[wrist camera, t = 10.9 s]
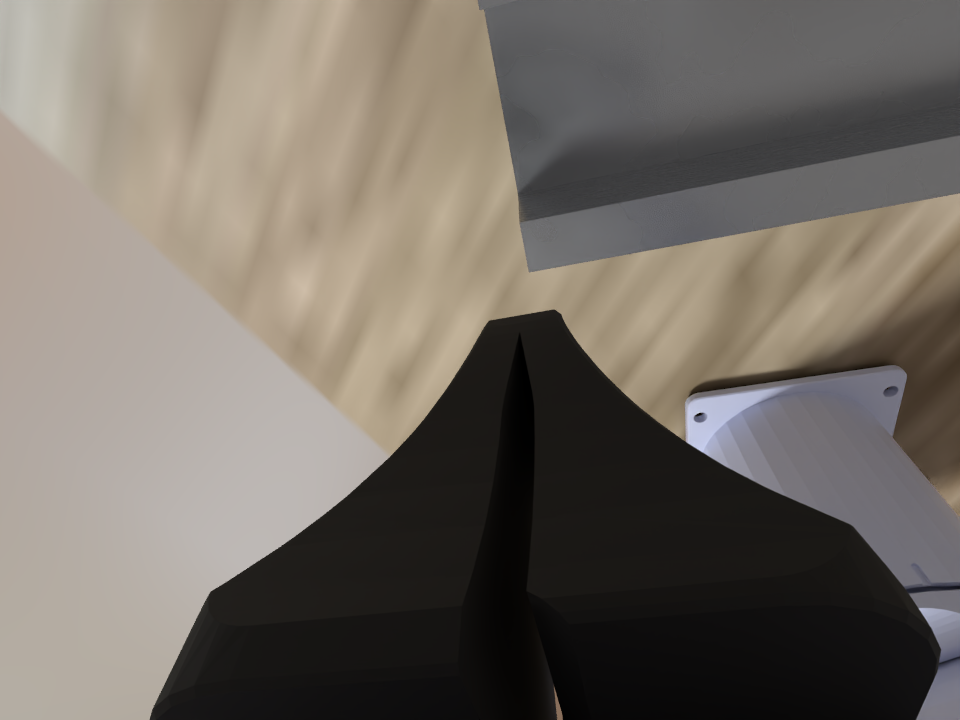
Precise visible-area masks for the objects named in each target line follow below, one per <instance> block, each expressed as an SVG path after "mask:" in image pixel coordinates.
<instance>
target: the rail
mask: <svg viewBox="0 0 960 720" xmlns="http://www.w3.org/2000/svg"><path fill="white" fill-rule="evenodd" d="M478 4H479V10H482V9H484V12H485V17H486V22H487V28H488V33H489V39H490V44H491V49H492V55H493V60H494V66H495V71H496V77H497V82H498V87H499V93H500V98H501V104H502V109H503V114H504V120H505V125H506V131H507V136H508V141H509V147H510V152H511V158H512V163H513V169H514V174H515V179H516V185H517V190H518V201H519V220H520V227H521V232H522V238H523V243H524V248H525V254H526V259H527V264H528V269H529V272H534V271H539V270H545V269H550V268H556V267H561V266H566V265H572V264H577V263H583V262H588V261H594V260H599V259H604V258H610V257H615V256H621V255H626V254H632V253H637V252H643V251H648V250H653V249H659V248H664V247H670V246H675V245H681V244H686V243H692V242H697V241H702V240H708V239H713V238H719V237H724V236H730V235H735V234H740V233H746V232H751V231H757V230H762V229H768V228H773V227H779V226H784V225H789V224H795V223H800V222H806V221H811V220H817V219H822V218H828V217H833V216H838V215H844V214H849V213H855V212H860V211H866V210H871V209H876V208H882V207H887V206H893V205H898V204H904V203H909V202H915V201H920V200H925V199H931V198H936V197H942V196H947V195H953V194H958V193H960V0H478Z"/></svg>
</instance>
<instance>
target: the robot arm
mask: <svg viewBox="0 0 960 720" xmlns="http://www.w3.org/2000/svg"><path fill="white" fill-rule="evenodd" d="M906 380H907V374H906V373H905V371H904V370H903V369H902V368H901V367H899V366H896V365H888V366H881V367H874V368H867V369H860V370H853V371H846V372H840V373H833V374H826V375H819V376H812V377H805V378H798V379H791V380H784V381H777V382H770V383H763V384H756V385H749V386H742V387H735V388H728V389H721V390H714V391H707V392H700V393H696V394H693V395H691V396H690V397H688V399H687V400H686V403H685V421H686V442H685V441H684V440H682V439H681V438H679V437H678V436H676V435H675V434H674V433H672V432H671V431H670V430H668V429H667V428H665V427H664V426H663V425H661V424H660V423H658V422H657V421H656V420H655V419H653V418H652V417H651V416H650V415H648V414H647V413H646V412H645V411H643V410H642V409H641V408H640V407H639V406H637V405H636V404H635V403H634V402H633V401H632V400H631V399H629V398H628V397H627V396H626V395H625V394H624V393H623V392H622V391H621V390H620V389H619V388H618V387H617V386H616V385H615V384H614V383H613V382H612V381H611V380H610V379H608V377H607V376H606V375H605V374H604V373H603V372H602V371H601V370H600V369H599V368H598V367H597V366H596V364H595V363H594V362H593V361H592V360H591V359H590V357H589V356H588V355H587V354H586V353H585V351H584V350H583V349H582V348H581V346H580V345H579V344H578V342H577V341H576V340H575V338H574V337H573V335H572V334H571V332H570V331H569V329H568V328H567V326H566V324H565V322H564V320H563V318H562V315H561V314H560V313H559V312H557V311H556V310H549V311H543V312H537V313H531V314H525V315H520V316H514V317H508V318H502V319H496V320H491V321H489V322H488V323H487V324H486V326H485V327H484V329H483V330H482V332H481V334H480V336H479V337H478V339H477V341H476V343H475V345H474V346H473V348H472V350H471V351H470V353H469V355H468V356H467V358H466V360H465V361H464V363H463V365H462V366H461V368H460V369H459V371H458V372H457V374H456V375H455V377H454V378H453V380H452V382H451V383H450V385H449V386H448V388H447V389H446V390H445V392H444V393H443V395H442V396H441V397H440V399H439V400H438V401H437V403H436V404H435V405H434V407H433V408H432V409H431V411H430V412H429V413H428V415H427V416H426V417H425V419H424V420H423V421H422V422H421V424H420V425H419V426H418V427H417V428H416V430H415V431H414V432H413V433H412V434H411V435H410V436H409V437H408V438H407V440H406V441H405V442H404V443H403V444H402V445H401V446H400V447H399V448H398V449H397V450H396V451H395V452H394V453H393V454H392V455H391V456H390V457H389V458H388V459H387V460H386V461H385V462H384V463H383V464H382V465H381V466H380V467H379V468H378V469H377V470H375V471H374V472H373V473H372V474H371V475H370V476H369V477H368V478H367V479H366V480H364V481H363V482H362V483H361V484H360V485H359V486H358V487H357V488H356V489H355V490H353V491H352V492H351V493H350V494H349V495H348V496H347V497H346V498H344V499H343V500H342V501H341V502H339V503H338V504H337V505H336V506H334V507H333V508H332V509H331V510H329V511H328V512H327V513H326V514H324V515H323V516H322V517H320V518H319V519H318V520H316V521H315V522H314V523H313V524H311V525H310V526H308V527H307V528H306V529H305V530H303V531H302V532H301V533H299V534H298V535H296V536H295V537H294V538H292V539H291V540H289V541H288V542H287V543H285V544H284V545H282V546H281V547H279V548H278V549H276V550H275V551H273V552H272V553H270V554H269V555H267V556H266V557H264V558H263V559H261V560H260V561H258V562H256V563H255V564H253V565H252V566H250V567H249V568H247V569H246V570H244V571H243V572H241V573H240V574H238V575H237V576H235V577H234V578H232V579H231V580H229V581H228V582H226V583H224V584H223V585H221V586H219V587H218V588H216V589H214V590H213V591H211V592H210V594H209V596H208V598H207V599H206V601H205V603H204V605H203V607H202V609H201V611H200V613H199V615H198V617H197V619H196V621H195V623H194V625H193V627H192V629H191V631H190V633H189V635H188V637H187V639H186V641H185V644H184V646H183V648H182V650H181V652H180V654H179V656H178V658H177V660H176V662H175V664H174V666H173V668H172V671H171V672H170V674H169V677H168V679H167V681H166V683H165V685H164V687H163V689H162V691H161V693H160V695H159V697H158V699H157V701H156V703H155V705H154V708H153V710H152V713H151V717H150V720H557V714H556V704H555V694H554V687H555V690H556V693H557V697H558V701H559V704H560V707H561V711H562V715H563V720H960V517H959V516H958V515H957V514H956V512H955V511H954V510H953V509H952V508H951V506H950V505H949V504H948V503H947V502H946V501H945V499H944V498H943V497H942V496H941V495H940V493H939V492H938V491H937V490H936V489H935V488H934V486H933V485H932V484H931V483H930V482H929V480H928V479H927V478H926V477H925V476H924V474H923V473H922V472H921V471H920V470H919V469H918V467H917V466H916V465H915V464H914V463H913V461H912V460H911V459H910V458H909V457H908V455H907V454H906V453H905V452H904V451H903V450H902V448H901V447H900V446H899V445H898V444H897V442H896V441H895V440H894V439H893V438H892V437H893V433H894V429H895V425H896V421H897V417H898V413H899V409H900V405H901V401H902V396H903V392H904V388H905V384H906ZM888 387H890V388H889V389H888V390H885V389H886V388H888ZM884 390H885V391H884ZM698 413H703V414H702V415H700V416H695V415H696V414H698Z"/></svg>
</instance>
